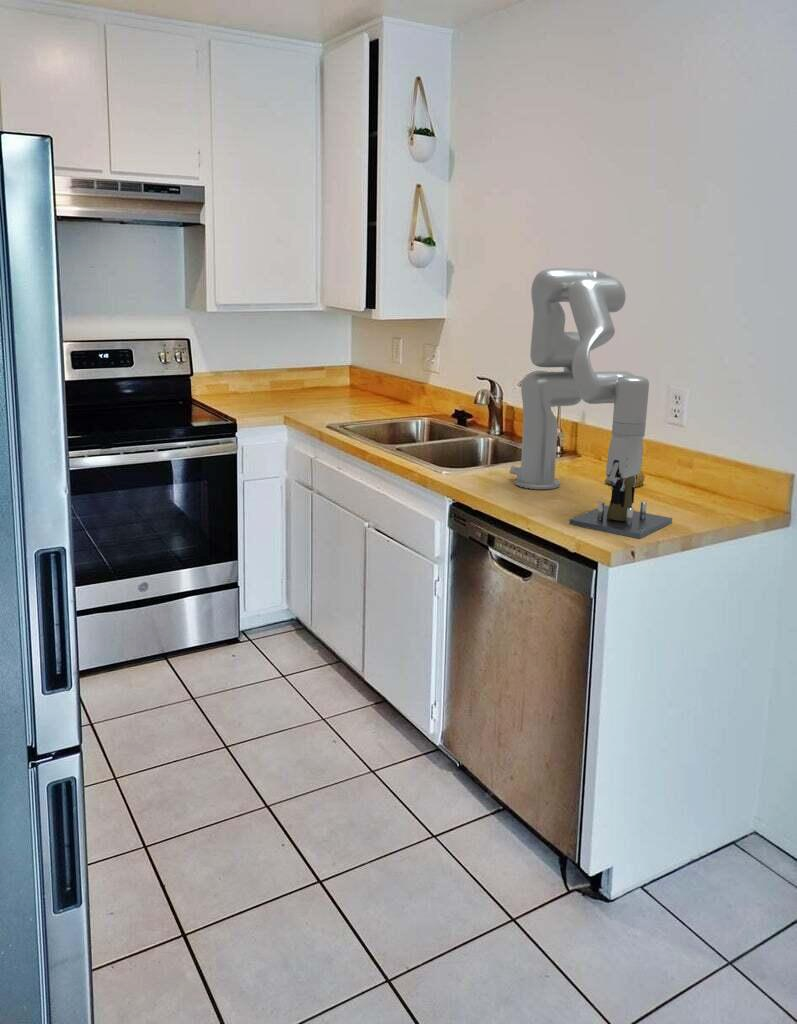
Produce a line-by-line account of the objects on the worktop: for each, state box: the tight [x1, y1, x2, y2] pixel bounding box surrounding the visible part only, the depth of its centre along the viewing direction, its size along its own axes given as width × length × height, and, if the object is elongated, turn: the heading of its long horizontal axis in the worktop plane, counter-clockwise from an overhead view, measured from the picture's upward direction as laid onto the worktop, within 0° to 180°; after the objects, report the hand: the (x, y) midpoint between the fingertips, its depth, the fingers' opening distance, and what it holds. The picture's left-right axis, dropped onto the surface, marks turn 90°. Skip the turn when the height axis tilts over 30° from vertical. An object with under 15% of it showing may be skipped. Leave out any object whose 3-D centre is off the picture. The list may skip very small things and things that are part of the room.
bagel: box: [604, 470, 646, 488], centre depth 259 cm, size 10×11×5 cm
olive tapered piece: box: [607, 475, 635, 521], centre depth 218 cm, size 6×6×11 cm
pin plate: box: [569, 501, 673, 540], centre depth 219 cm, size 18×18×5 cm
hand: (622, 503), depth 218 cm, fingers open, 4 cm apart
